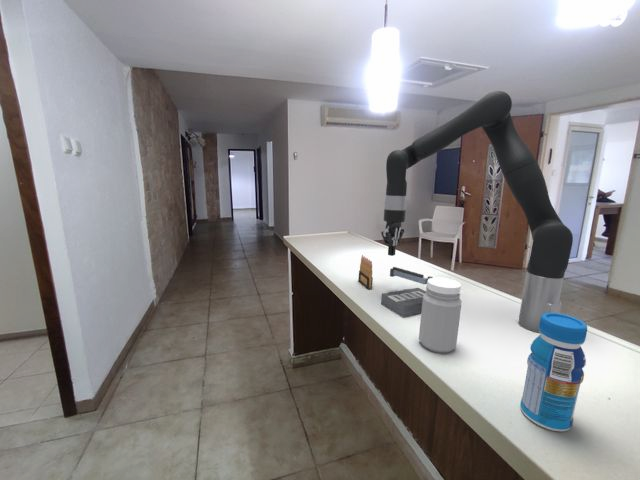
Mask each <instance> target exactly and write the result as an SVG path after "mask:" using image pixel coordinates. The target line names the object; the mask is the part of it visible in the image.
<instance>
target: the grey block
mask: <svg viewBox="0 0 640 480" xmlns="http://www.w3.org/2000/svg"><path fill="white" fill-rule="evenodd" d="M430 278H434V277H433V276H430V275H429V276H427V281H428V279H430ZM426 290H427V286H426V289H425V290H424V289H421V288H420V287H415V288H413V287H412V288H408V289H402V290H396V291H395V290H394V291H389V292H382V293H381V297H380V298H381V299H380V300H381V301H380V305H381V306H384V307H385V308H386V309H389V310H390V311H392V312H393V313H395V314H396V315H398V316H400V317H401V316H402V318H403V319H405V318H409V317H414V316H418V315H421V312H422V302H423V296H424V294H425V293H426Z"/></svg>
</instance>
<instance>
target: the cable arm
mask: <svg viewBox="0 0 640 480" xmlns="http://www.w3.org/2000/svg"><path fill="white" fill-rule="evenodd" d="M389 276H390V277H392V278H394V277H399V278H402V279H405V280H409V281H410V282H411V281H412V282H415V283H419V284H421V285H427V278H428V277H427V278H426V277H424V274H423V273H417V272H415V271H410V270H407V269H404V268H400V267H397V266H393V267H392V268H390V269H389Z"/></svg>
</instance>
